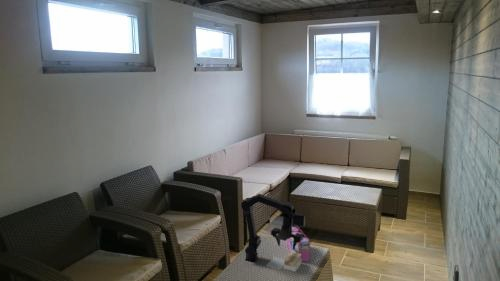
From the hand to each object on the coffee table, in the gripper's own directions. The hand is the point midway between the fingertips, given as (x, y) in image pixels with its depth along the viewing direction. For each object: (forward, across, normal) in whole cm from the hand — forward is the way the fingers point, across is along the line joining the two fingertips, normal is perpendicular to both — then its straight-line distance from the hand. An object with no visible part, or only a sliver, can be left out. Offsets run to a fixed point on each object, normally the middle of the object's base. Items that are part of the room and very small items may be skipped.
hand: (286, 247), depth 224 cm
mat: (+12, -5, -1) cm, 13 cm away
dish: (+11, +5, 0) cm, 12 cm away
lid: (+8, +4, 0) cm, 9 cm away
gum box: (+12, +1, +18) cm, 21 cm away
